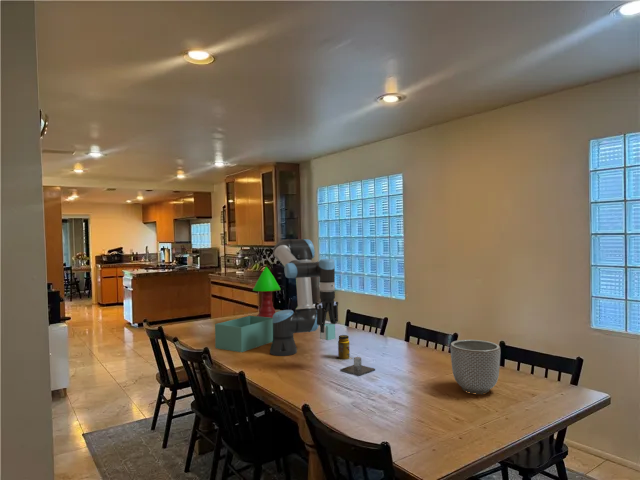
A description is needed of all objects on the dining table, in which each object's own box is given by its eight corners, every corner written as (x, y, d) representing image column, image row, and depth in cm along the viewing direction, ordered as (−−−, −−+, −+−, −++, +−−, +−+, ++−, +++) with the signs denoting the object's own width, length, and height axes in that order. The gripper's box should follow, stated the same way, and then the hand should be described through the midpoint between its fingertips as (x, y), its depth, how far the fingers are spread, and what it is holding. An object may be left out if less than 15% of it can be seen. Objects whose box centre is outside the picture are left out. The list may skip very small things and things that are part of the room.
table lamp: (257, 326, 325) (256, 265, 325) (284, 326, 322) (283, 265, 322) (249, 332, 306) (248, 267, 305) (277, 332, 303) (276, 266, 302)
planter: (495, 402, 172) (495, 353, 172) (445, 393, 182) (444, 347, 182) (504, 387, 189) (504, 342, 188) (457, 380, 199) (457, 337, 199)
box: (215, 348, 264) (214, 324, 264) (250, 337, 291) (250, 315, 291) (241, 352, 253) (241, 327, 253) (275, 341, 280) (275, 318, 280)
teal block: (320, 338, 218) (320, 324, 218) (327, 336, 222) (327, 323, 222) (328, 340, 214) (327, 326, 214) (335, 338, 218) (335, 324, 218)
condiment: (352, 358, 237) (352, 336, 236) (340, 361, 232) (339, 338, 232) (344, 355, 243) (344, 333, 243) (332, 358, 238) (331, 335, 238)
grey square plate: (340, 370, 215) (340, 357, 215) (356, 365, 224) (356, 353, 224) (359, 376, 207) (359, 362, 207) (375, 370, 215) (375, 357, 215)
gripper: (319, 293, 208) (320, 342, 209) (345, 289, 221) (345, 335, 222) (308, 291, 214) (309, 340, 214) (334, 288, 227) (334, 333, 227)
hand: (327, 337), depth 218 cm, fingers closed on teal block, 5 cm apart
